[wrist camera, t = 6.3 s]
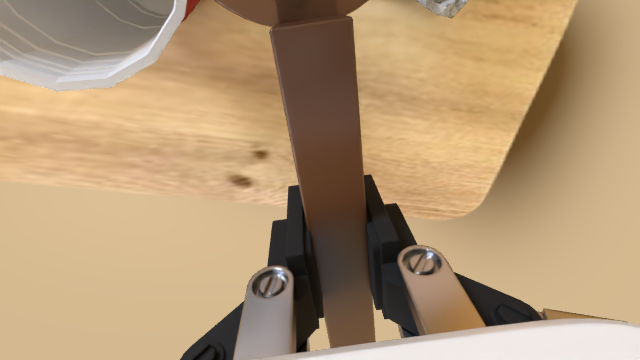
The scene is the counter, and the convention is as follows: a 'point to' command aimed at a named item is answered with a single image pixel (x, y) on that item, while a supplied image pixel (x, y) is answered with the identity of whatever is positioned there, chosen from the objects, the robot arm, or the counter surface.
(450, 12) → the crystal geode chunk
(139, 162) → the counter surface
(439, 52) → the counter surface
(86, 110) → the counter surface
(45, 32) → the plastic cup
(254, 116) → the counter surface
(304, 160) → the spoon
